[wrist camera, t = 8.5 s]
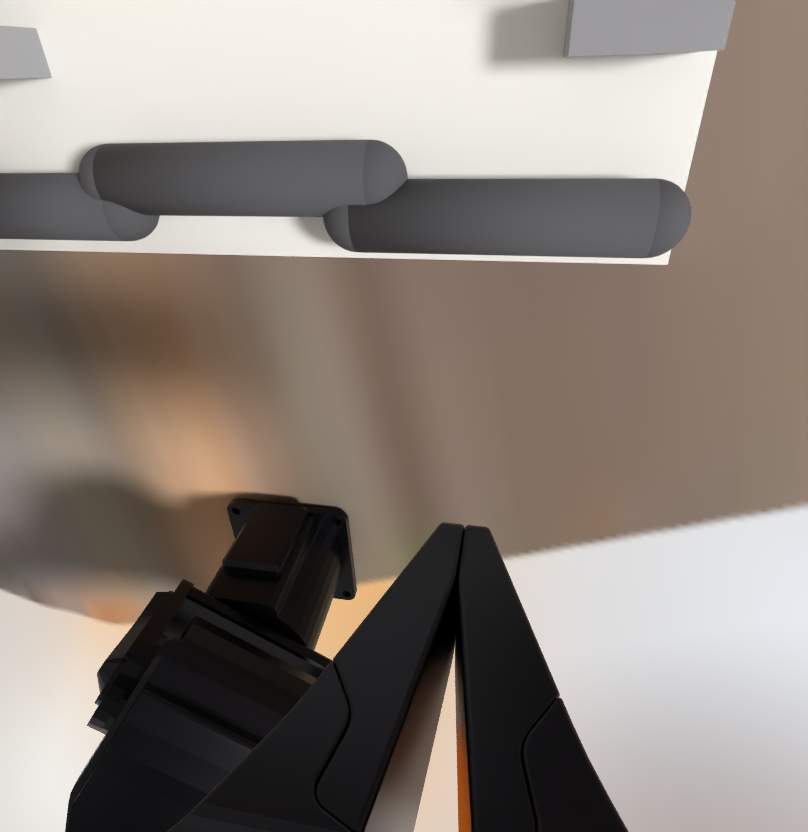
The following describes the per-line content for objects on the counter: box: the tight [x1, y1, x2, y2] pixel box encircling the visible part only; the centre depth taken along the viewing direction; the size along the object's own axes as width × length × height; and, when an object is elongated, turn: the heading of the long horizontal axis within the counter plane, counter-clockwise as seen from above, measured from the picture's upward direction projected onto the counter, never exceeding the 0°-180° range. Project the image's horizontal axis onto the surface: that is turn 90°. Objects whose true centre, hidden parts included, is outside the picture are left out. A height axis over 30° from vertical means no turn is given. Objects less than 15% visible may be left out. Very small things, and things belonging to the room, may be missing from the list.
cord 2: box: [0, 139, 691, 258], centre depth 16 cm, size 3×24×2 cm, turn 92°
